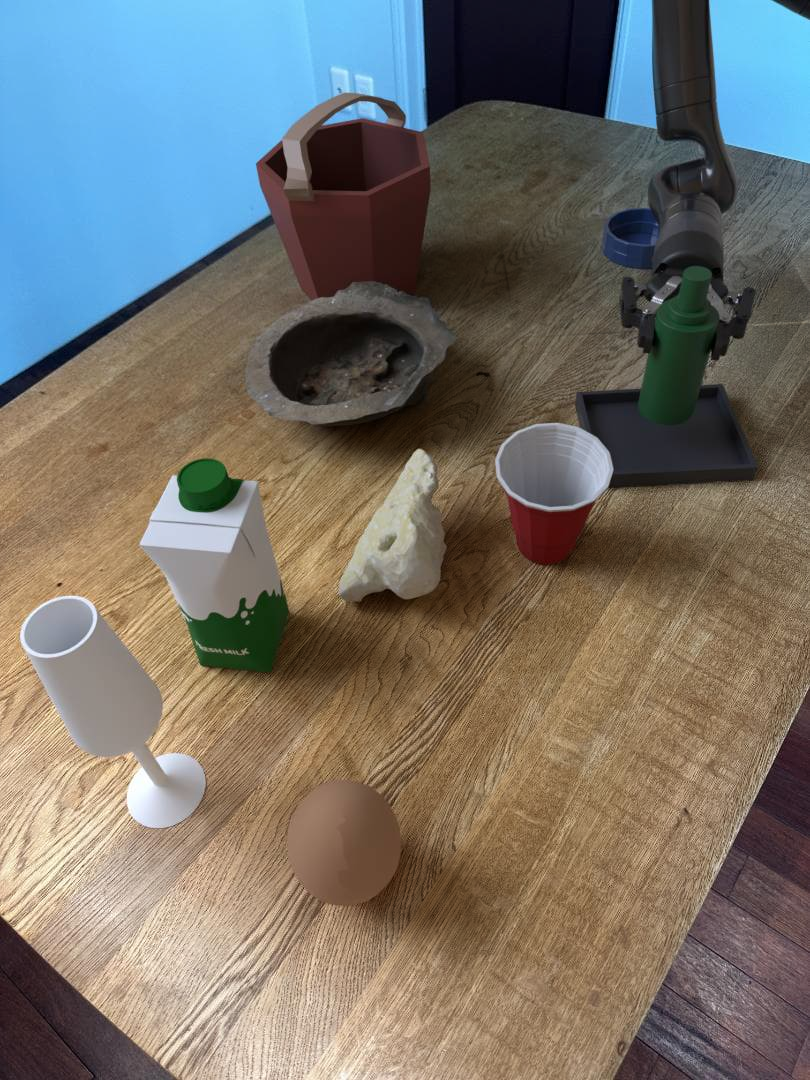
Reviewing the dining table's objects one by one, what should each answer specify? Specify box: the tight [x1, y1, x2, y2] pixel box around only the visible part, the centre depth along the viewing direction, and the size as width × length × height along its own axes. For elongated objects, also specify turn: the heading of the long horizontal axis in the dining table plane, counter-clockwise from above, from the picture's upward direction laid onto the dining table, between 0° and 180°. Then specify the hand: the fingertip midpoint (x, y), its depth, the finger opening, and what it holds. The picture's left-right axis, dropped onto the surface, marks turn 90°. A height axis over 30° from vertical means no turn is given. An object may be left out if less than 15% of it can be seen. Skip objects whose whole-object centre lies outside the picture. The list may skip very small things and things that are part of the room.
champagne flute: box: [19, 595, 207, 829], centre depth 60 cm, size 7×7×24 cm
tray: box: [574, 383, 759, 488], centre depth 92 cm, size 17×14×2 cm
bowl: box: [601, 207, 659, 270], centre depth 118 cm, size 11×11×4 cm
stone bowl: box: [244, 281, 457, 427], centre depth 99 cm, size 25×25×9 cm
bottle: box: [638, 266, 720, 425], centre depth 83 cm, size 6×6×16 cm
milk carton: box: [139, 457, 290, 674], centre depth 71 cm, size 9×9×20 cm
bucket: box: [255, 92, 432, 302], centre depth 109 cm, size 24×22×25 cm
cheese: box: [338, 448, 448, 603], centre depth 81 cm, size 15×7×15 cm
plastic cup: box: [494, 422, 614, 566], centre depth 79 cm, size 11×11×12 cm
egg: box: [286, 779, 402, 907], centre depth 59 cm, size 8×8×11 cm
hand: (682, 349), depth 81 cm, fingers closed on bottle, 6 cm apart
